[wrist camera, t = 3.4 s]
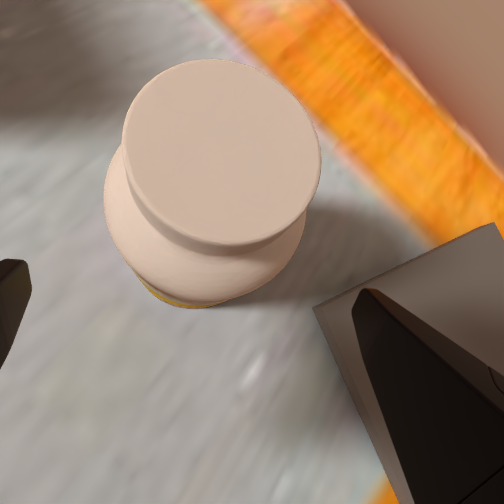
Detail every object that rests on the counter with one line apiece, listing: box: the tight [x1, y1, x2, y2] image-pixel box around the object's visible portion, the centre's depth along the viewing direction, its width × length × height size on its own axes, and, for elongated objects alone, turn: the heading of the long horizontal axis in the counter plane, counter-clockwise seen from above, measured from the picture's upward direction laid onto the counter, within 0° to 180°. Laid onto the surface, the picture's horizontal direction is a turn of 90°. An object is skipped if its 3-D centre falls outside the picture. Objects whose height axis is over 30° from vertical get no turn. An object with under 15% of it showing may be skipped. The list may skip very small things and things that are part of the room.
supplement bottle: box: [104, 59, 321, 309], centre depth 14 cm, size 7×7×13 cm
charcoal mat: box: [313, 222, 504, 504], centre depth 22 cm, size 15×15×1 cm
